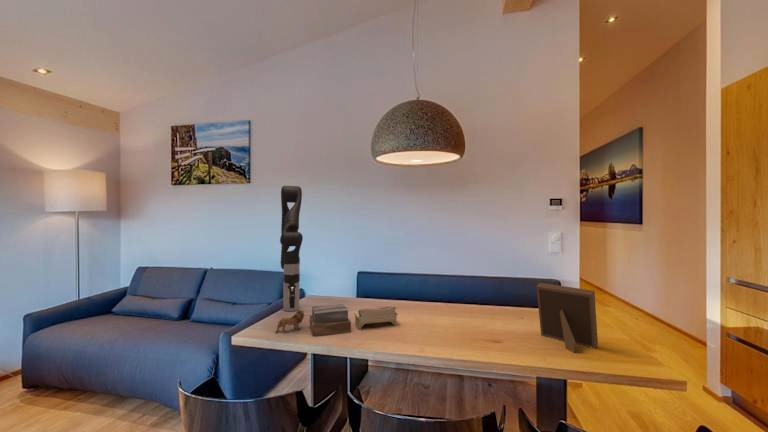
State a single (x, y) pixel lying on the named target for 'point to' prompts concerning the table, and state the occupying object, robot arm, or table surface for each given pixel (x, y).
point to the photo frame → (568, 315)
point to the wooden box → (329, 320)
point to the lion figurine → (291, 321)
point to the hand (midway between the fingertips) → (291, 305)
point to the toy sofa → (375, 316)
